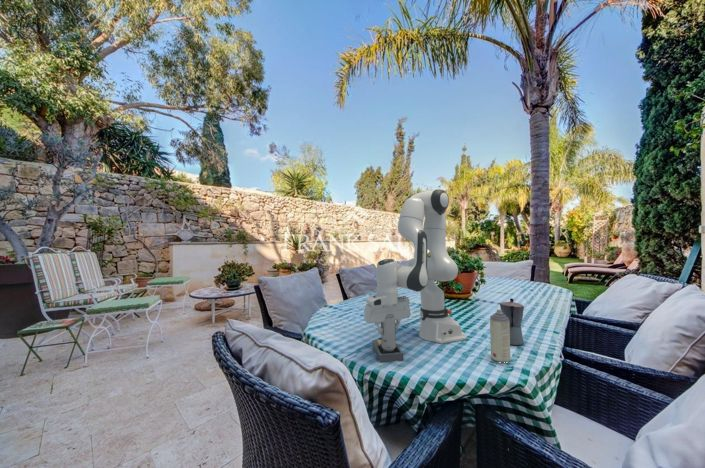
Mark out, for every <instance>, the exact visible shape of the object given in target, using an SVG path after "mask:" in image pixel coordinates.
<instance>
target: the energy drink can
mask: <svg viewBox="0 0 705 468" xmlns="http://www.w3.org/2000/svg"><path fill="white" fill-rule="evenodd" d="M395 324H396V320H395V317H394V316H393V314H390V315H386V318H385V321H384V322H380V327H381V328H383V330H382V331H383V332H380V333H381V335H380V336H381V339H380V340H381V341H382V348H383V350H385V351H391V352H394V351H393V350H395V348H396V343H397V336H396V331H397V330H395Z"/></svg>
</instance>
